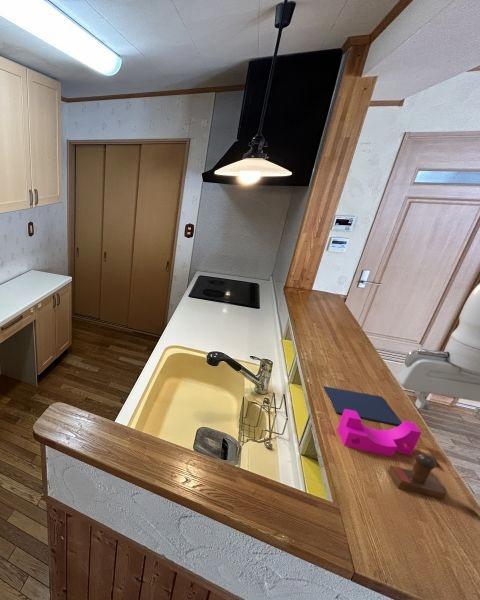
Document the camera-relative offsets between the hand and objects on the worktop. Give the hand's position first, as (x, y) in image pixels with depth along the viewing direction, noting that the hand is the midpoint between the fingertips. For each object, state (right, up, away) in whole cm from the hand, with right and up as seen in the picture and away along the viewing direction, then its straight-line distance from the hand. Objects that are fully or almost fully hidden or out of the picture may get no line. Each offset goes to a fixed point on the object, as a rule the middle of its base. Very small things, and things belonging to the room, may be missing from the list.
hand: (449, 412), depth 69 cm
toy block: (+1, -16, +19) cm, 25 cm away
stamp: (0, -20, +7) cm, 21 cm away
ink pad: (+10, -10, +34) cm, 37 cm away
